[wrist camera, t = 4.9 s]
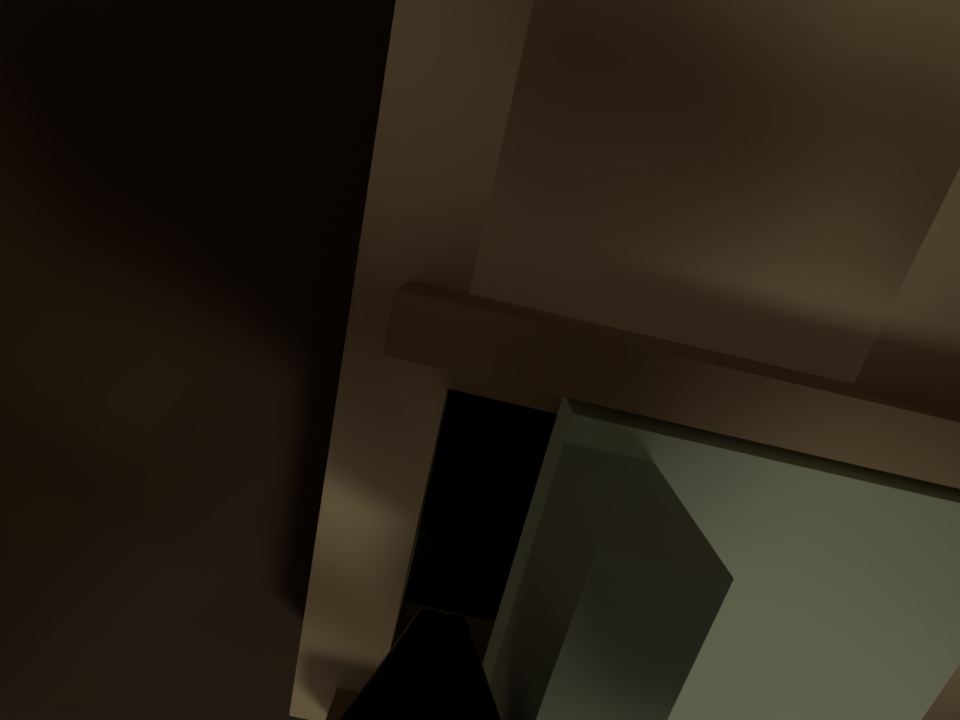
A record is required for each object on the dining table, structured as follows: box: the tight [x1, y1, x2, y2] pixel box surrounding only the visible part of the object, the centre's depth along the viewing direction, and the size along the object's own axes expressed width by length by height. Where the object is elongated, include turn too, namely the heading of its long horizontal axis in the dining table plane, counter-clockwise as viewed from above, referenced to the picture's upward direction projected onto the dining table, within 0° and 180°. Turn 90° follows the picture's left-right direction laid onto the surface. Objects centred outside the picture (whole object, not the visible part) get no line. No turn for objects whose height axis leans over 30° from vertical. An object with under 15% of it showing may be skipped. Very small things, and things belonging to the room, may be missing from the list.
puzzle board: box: [289, 0, 960, 720], centre depth 9 cm, size 19×21×3 cm
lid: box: [482, 397, 960, 720], centre depth 7 cm, size 8×8×4 cm
